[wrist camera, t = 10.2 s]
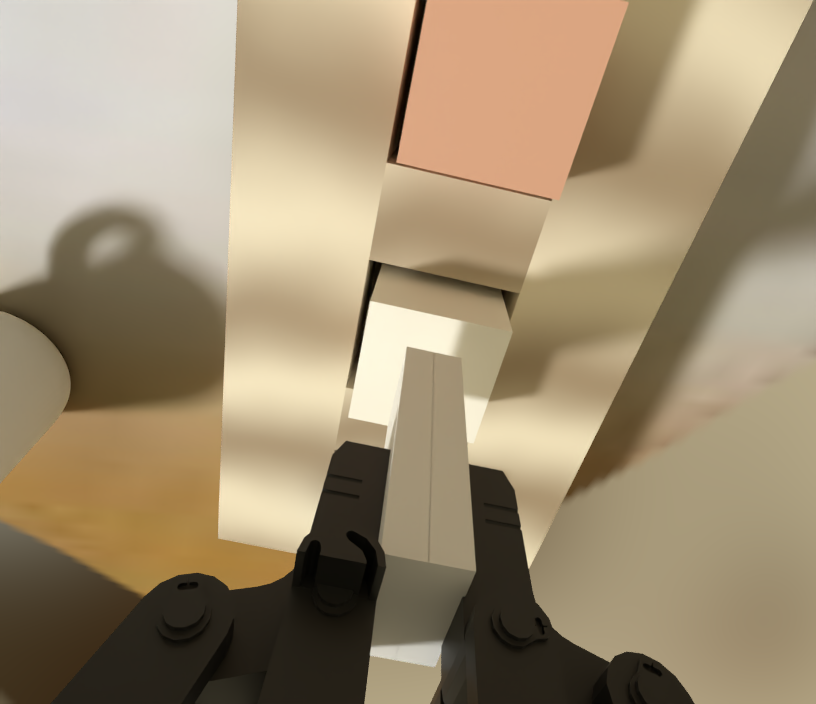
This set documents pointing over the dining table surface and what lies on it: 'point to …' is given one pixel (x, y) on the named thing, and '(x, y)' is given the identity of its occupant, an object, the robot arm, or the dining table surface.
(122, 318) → the dining table surface
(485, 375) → the key cream
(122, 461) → the dining table surface
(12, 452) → the cup
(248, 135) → the console
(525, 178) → the key terracotta
